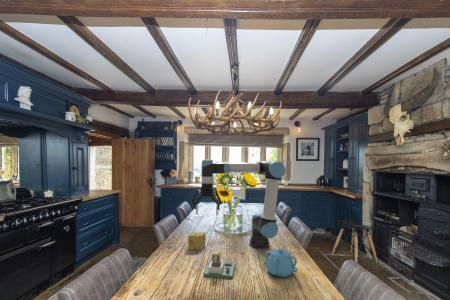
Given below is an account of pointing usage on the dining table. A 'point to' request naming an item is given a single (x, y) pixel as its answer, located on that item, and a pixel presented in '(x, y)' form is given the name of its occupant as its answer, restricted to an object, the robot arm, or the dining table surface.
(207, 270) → the header board
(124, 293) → the dining table surface
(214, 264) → the plug
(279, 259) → the decorative pot
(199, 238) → the cheese
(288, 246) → the dining table surface
